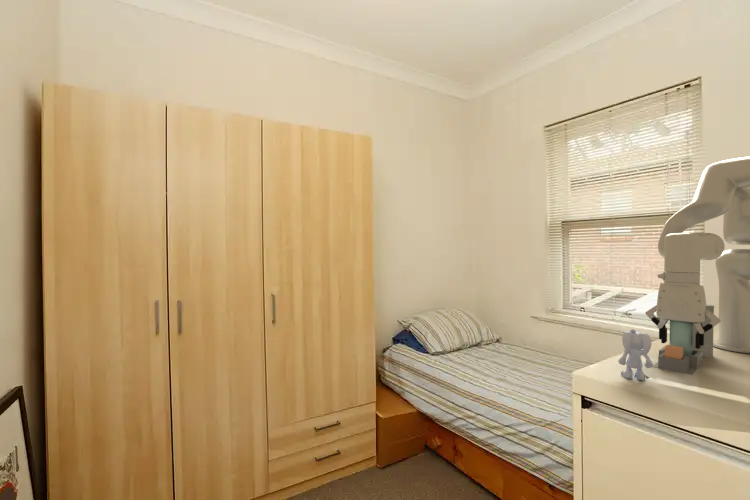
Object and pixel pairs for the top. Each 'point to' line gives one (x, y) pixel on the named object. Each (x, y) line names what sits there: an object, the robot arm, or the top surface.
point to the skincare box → (705, 336)
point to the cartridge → (682, 335)
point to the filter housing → (680, 362)
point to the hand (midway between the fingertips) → (680, 344)
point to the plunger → (674, 352)
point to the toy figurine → (635, 353)
